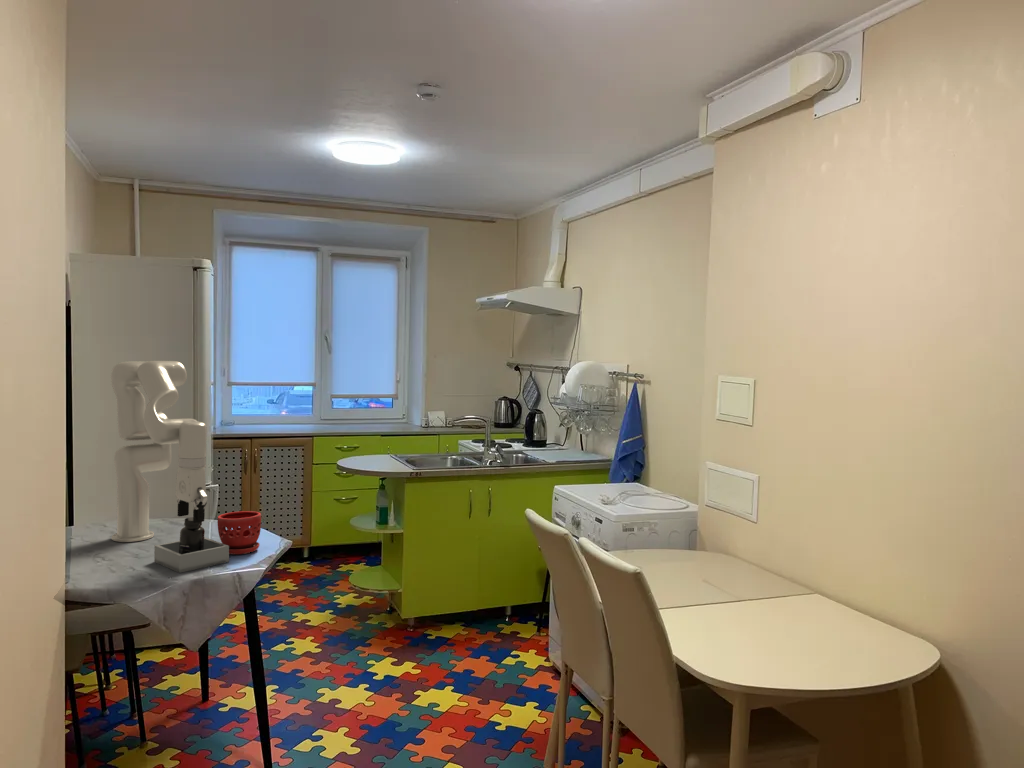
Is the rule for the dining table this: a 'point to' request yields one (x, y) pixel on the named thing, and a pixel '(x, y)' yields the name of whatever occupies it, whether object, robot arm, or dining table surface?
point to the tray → (191, 556)
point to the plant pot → (240, 531)
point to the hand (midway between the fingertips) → (190, 518)
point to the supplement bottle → (191, 537)
